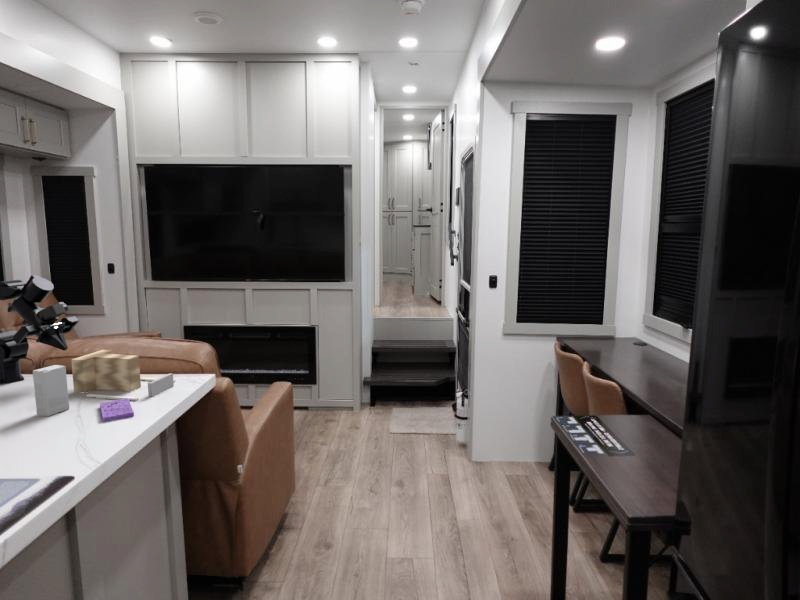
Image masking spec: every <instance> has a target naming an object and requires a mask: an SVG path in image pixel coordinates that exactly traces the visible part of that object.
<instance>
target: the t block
mask: <svg viewBox="0 0 800 600" xmlns="http://www.w3.org/2000/svg"><path fill="white" fill-rule="evenodd" d="M70 362H71V371H72V385H73V393H77V392H84V393H83V394H87V393H86V392H88V393H89V391H90V392H92V391H91V390H93V391H95V390H105V389H106V391H108V390H109V391H118V390H125V391H124V392H131V391H132V392H134V391H136V390H138V389H140V387H142V385H141V384H142V380H140V378H141V367H140V356H139V355H135V354H134V355H132V354H117V353H115V352H114V350H112V349H109V350H108V349H101V350H98V351H94V352H91V353H88V354H85V355H84V354H83V355H81V356H78V357H75V358H71V361H70ZM94 389H95V390H94ZM135 389H136V390H135ZM133 390H134V391H133Z"/></svg>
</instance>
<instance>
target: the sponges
mask: <svg viewBox="0 0 800 600" xmlns="http://www.w3.org/2000/svg"><path fill="white" fill-rule="evenodd" d="M99 407H100V412H101V413H100V414H101V418H102V422H103V423H104V422H105V423H106V422H107V421H108V422H112V420H113V421H117V420H121V419H128V418H127V417H129V418H133V416H134V417H135V412H134V410H133V407H132V404H131V402H130V400H129V399H128V398H125V399H120V400H118V399H114V400H111V401H104V402H99ZM108 422H107V423H108Z"/></svg>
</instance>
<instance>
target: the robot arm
mask: <svg viewBox="0 0 800 600" xmlns="http://www.w3.org/2000/svg"><path fill="white" fill-rule="evenodd" d="M54 288H55V287H54V283H52V281H51V280H48V279H46V278H44V277H41V276H39V275H38V274H34V275H30V276H29V278H28V280H27V281H26V283H24V281H23V280H20V279H15V280H4V281H0V301H8V300H9V301H10V300H13V301H12V302H9V303H8V307H7V313H11V312H13V313H14V312H16V313H17V314H18V315H19V316H20V317H21V319H23V321H21V323H22V324H23V325H22V326H20V328H19V329H18V330H14V329H11V330H7V331H3V330H2V329H0V384H5V383H12V382H18V381H23V380H25V377H24V376H23V375H22V373H21V364H20V360H23V359H26V358H27V355H28V351H29V346H30V345H29V342H28V338H29V337H30V338H31V337H33V336H36V337H37V339H36V341H35V342H36V343H41V344H45V345H47V346H50V347H53V348H56V349H59V350H62V351H67V350H68V344H67V342H66V338H65V335H66V334H69V333H70V332H71V331H72V330H73V329H74V328H75V327H76V325H78V323H79V322H80V320H79V319H78V318H77V317H76V316H75V315H71V316H65V317H62V318H61V319H60V318H59V317H61V316H63V315H66V314H67V312H68V311H69V307H68V305H67V304H66V303H64V301H60V302H59V301H58V302H57V303H55V304H52V305H49V306H47V307H42V306H41V305H40V304H39V303H42V302H44V301H45V300H46V298H47V297H48V296H49V295H50V293H51V292H52V291H53V290H54ZM59 319H60V321H59ZM58 321H59V322H58ZM56 322H58V323H56Z"/></svg>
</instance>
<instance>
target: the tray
mask: <svg viewBox="0 0 800 600" xmlns="http://www.w3.org/2000/svg"><path fill="white" fill-rule="evenodd" d="M140 380H141V381H142V380H145V381H144V382H147V395H148V397H149V396H153V397H155V396H156V394H157V395H159V394H160V392H161V393H162V392H164V391H167V390H169V389H170V388H173V387H174V386H175V385H174V384H175V383H176V379H174V374H173V373H171V372H170V373H167V374H165V375H162V376H160V377H158V378H153V377H140ZM158 393H159V394H158ZM154 395H155V396H154ZM92 397H96V398H95V399H105V398H107V399H109V400H117V401H118V400H120V399H125V398H128V399H129V401H130V400H131V401H133V402H138V401H139V397H133V396H120V395H110V394H109V395H107V394H95V393H87V394H86V398H92ZM107 399H106V400H107Z"/></svg>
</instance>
